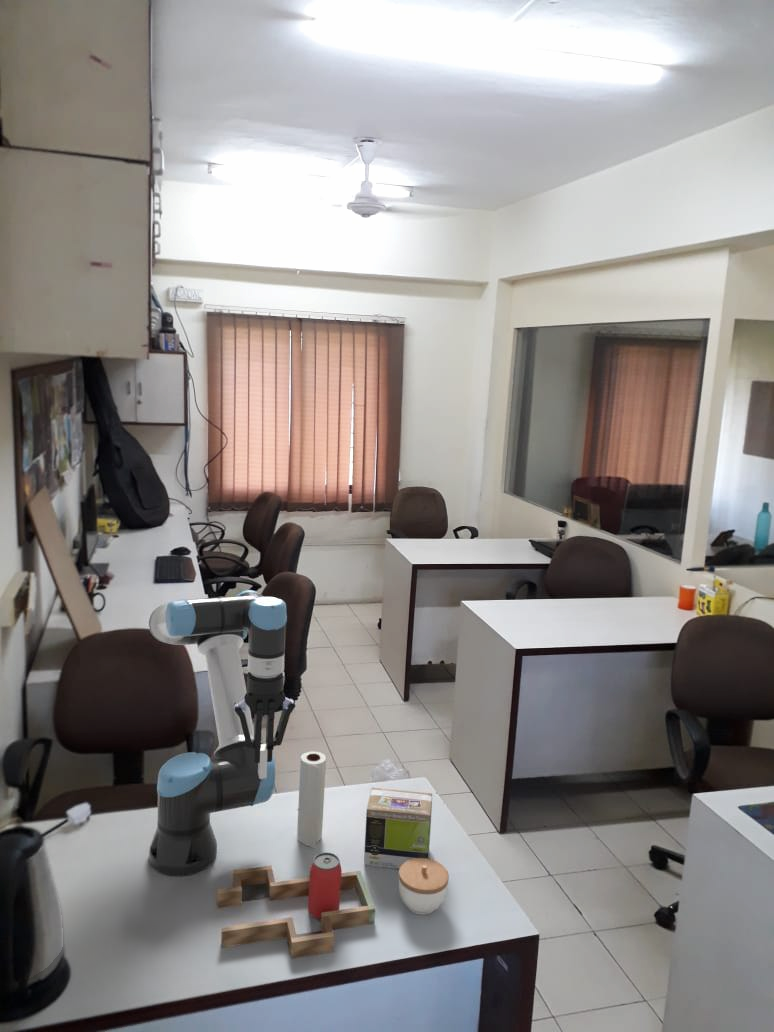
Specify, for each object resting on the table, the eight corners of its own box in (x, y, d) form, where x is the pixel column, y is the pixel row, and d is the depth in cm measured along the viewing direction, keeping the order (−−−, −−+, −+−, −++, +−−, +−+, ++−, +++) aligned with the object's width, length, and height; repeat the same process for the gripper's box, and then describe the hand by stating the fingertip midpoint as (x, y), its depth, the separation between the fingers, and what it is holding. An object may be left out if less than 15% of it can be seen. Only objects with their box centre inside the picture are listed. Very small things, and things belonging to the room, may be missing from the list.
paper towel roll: (302, 827, 190) (306, 748, 186) (325, 832, 189) (329, 753, 184) (291, 844, 183) (294, 762, 179) (314, 849, 182) (319, 767, 178)
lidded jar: (439, 887, 172) (442, 849, 170) (451, 921, 161) (454, 881, 159) (392, 889, 170) (395, 852, 168) (401, 924, 159) (404, 884, 158)
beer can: (342, 904, 164) (346, 854, 162) (333, 925, 158) (336, 873, 156) (314, 897, 166) (316, 847, 163) (303, 917, 159) (306, 866, 157)
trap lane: (224, 969, 145) (224, 953, 144) (215, 886, 167) (215, 872, 166) (381, 943, 154) (383, 928, 153) (353, 868, 176) (354, 854, 175)
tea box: (429, 847, 186) (433, 792, 183) (427, 874, 176) (432, 816, 173) (367, 840, 187) (371, 785, 184) (362, 866, 177) (366, 808, 174)
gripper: (235, 680, 153) (232, 787, 158) (300, 677, 157) (295, 781, 162) (232, 666, 161) (229, 769, 165) (293, 663, 164) (289, 763, 169)
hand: (262, 775), depth 163 cm, fingers closed
